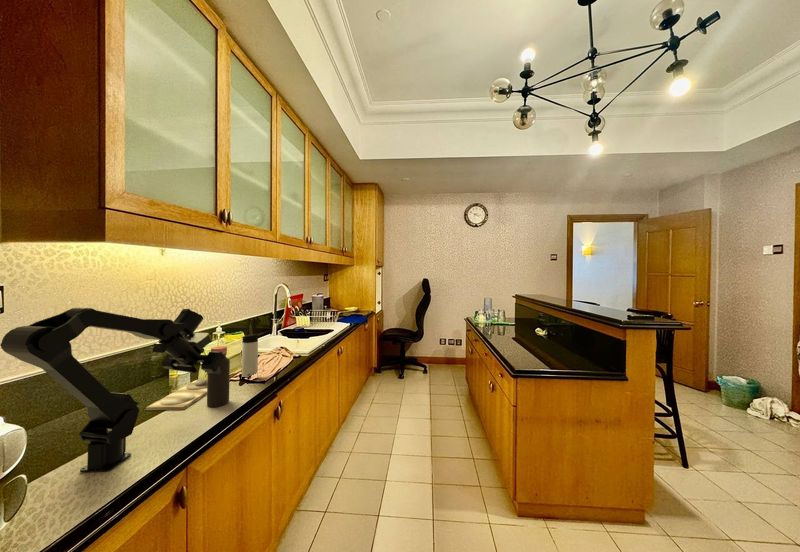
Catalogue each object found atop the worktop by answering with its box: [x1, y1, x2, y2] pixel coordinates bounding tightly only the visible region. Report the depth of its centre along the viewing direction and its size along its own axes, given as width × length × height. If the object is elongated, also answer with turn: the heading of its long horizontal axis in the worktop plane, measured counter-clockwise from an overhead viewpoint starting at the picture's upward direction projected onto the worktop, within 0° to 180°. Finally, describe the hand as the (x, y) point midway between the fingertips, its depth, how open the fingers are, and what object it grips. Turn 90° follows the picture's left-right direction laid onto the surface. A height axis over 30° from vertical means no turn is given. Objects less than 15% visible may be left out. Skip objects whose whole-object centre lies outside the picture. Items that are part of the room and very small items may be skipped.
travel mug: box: [241, 333, 259, 378], centre depth 132 cm, size 6×7×20 cm
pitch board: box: [145, 378, 207, 411], centre depth 114 cm, size 27×12×3 cm, turn 4°
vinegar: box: [206, 345, 231, 408], centre depth 106 cm, size 7×7×20 cm
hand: (207, 372), depth 101 cm, fingers open, 9 cm apart
